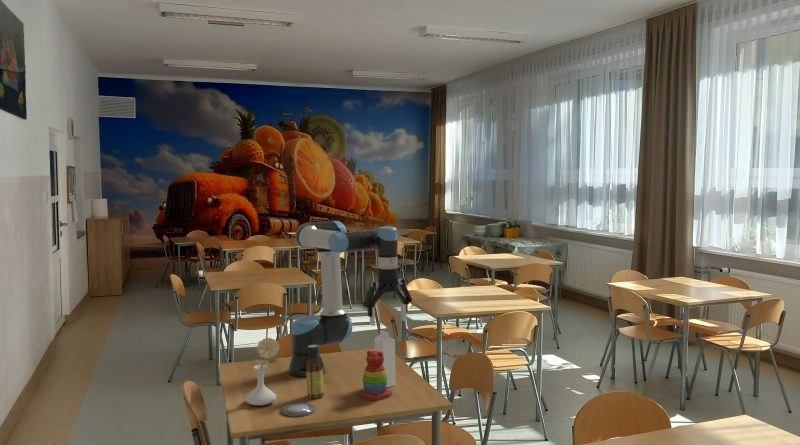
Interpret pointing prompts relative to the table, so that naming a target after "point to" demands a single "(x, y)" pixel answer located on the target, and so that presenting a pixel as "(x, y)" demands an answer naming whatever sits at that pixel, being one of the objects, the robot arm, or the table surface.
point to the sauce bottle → (314, 373)
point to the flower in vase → (261, 393)
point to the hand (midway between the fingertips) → (388, 322)
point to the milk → (387, 355)
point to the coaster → (298, 409)
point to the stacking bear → (375, 377)
